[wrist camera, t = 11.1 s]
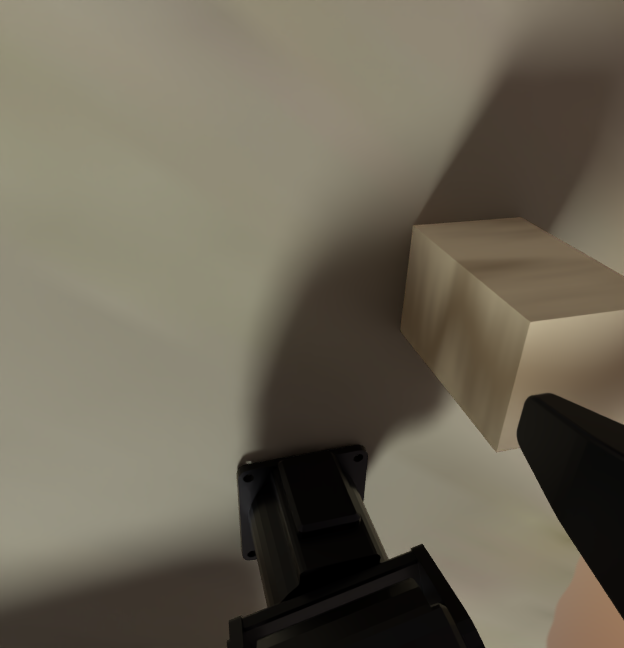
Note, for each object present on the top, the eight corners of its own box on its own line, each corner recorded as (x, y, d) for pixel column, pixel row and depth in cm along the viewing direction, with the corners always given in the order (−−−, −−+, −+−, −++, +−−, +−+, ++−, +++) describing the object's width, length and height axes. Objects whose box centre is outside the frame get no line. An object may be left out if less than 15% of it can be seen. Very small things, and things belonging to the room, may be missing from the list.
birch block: (497, 318, 26) (620, 428, 19) (399, 330, 25) (496, 452, 18) (520, 216, 24) (671, 303, 17) (412, 225, 22) (530, 321, 16)
